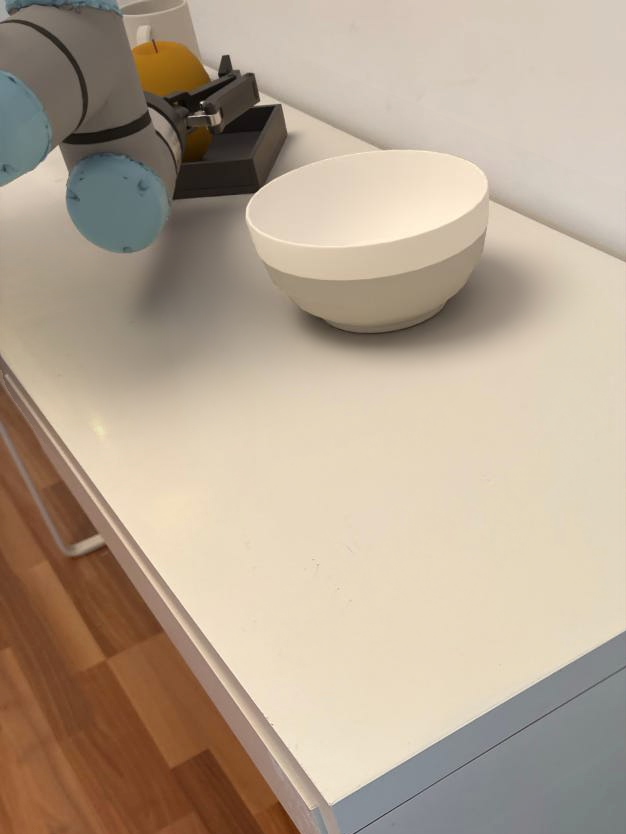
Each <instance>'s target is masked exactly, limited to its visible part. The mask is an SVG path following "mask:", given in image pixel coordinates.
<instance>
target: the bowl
mask: <svg viewBox="0 0 626 834" xmlns="http://www.w3.org/2000/svg"><path fill="white" fill-rule="evenodd" d="M489 217H490V183H489V180H488V178H487V176H486V173H485V172H484V171H483V170H482V169H481V168H480V167H478V166H477V165H476V164H474V163H473V162H470V161H469V160H467V159H465V158H461V157H458V156H455V155H452V154H449V153H445V152H444V153H443V152H437V151H433V150H420V149H384V150H371V151H363V152H356V153H349V154H344V155H341V156H340V155H339V156H335V157H330V158H326V159H322V160H319V161H315V162H312V163H309V164H305V165H302V166H301V167H298V168H295V169H293V170H290V171H288V172H286V173H283V174H281V175H280V176H278V177H275V178H274V179H272V180H271V181H269V182H268V183H265V184H264V186H263V187H262V188H261V189H260V190H259V191H258V192H255V193H254V195H252V197H251V198H250V199H249V201H248V203H247V205H246V207H245V222H246V224H247V227H248V231H249V234H250V236H251V239H252V243H253V246H254V249H255V251H256V253H257V255H258V257H259V258H260V260H261V262H262V263H263V266H264V267H265V269H266V271H267V273H268V275H269V277H270V279H271V280H272V283H273V284H274V285H275V286H276V287H277V288H278V289H279V290H281V291H282V292H283V294H285V295H286V296H287V297H288V298H289V299H290V300H291V301H292V302H293V303H294V304H296V305H297V306H298V307H299V308H300V309H301V310H302V311H305V312H307V313H308V314H310V315H313V316H315V317H317V318H321V319H322V320H324V322H325V323H327V324H328V325H330V326H332V327H334V328H336V329H339V330H342V331H344V332H345V331H346V332H352V333H360V334H361V333H362V334H378V333H379V334H380V333H388V332H393V331H399V330H403V329H408V328H410V327H413V326H416V325H419V324H421V323H423V322H425V321H427V320H429V319H431V318H433V317H434V316H435V315H437V314H438V313H439V312H440V311H441V310H442V309H443V308H444V307H445V306H446V303H447V302H448V300H449V299H451V298H452V297H453V296H455V295H456V294H458V293H459V292H460V291H461V289H462V288H463V287H465V285H466V284H467V282H468V280H469V278H470V276H471V274H472V273H473V271H474V269H475V268H476V266H477V264H478V262H479V260H480V259H481V257H482V255H483V254H484V253H483V252H484V248H485V242H486V236H487V230H488V225H489Z"/></svg>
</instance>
